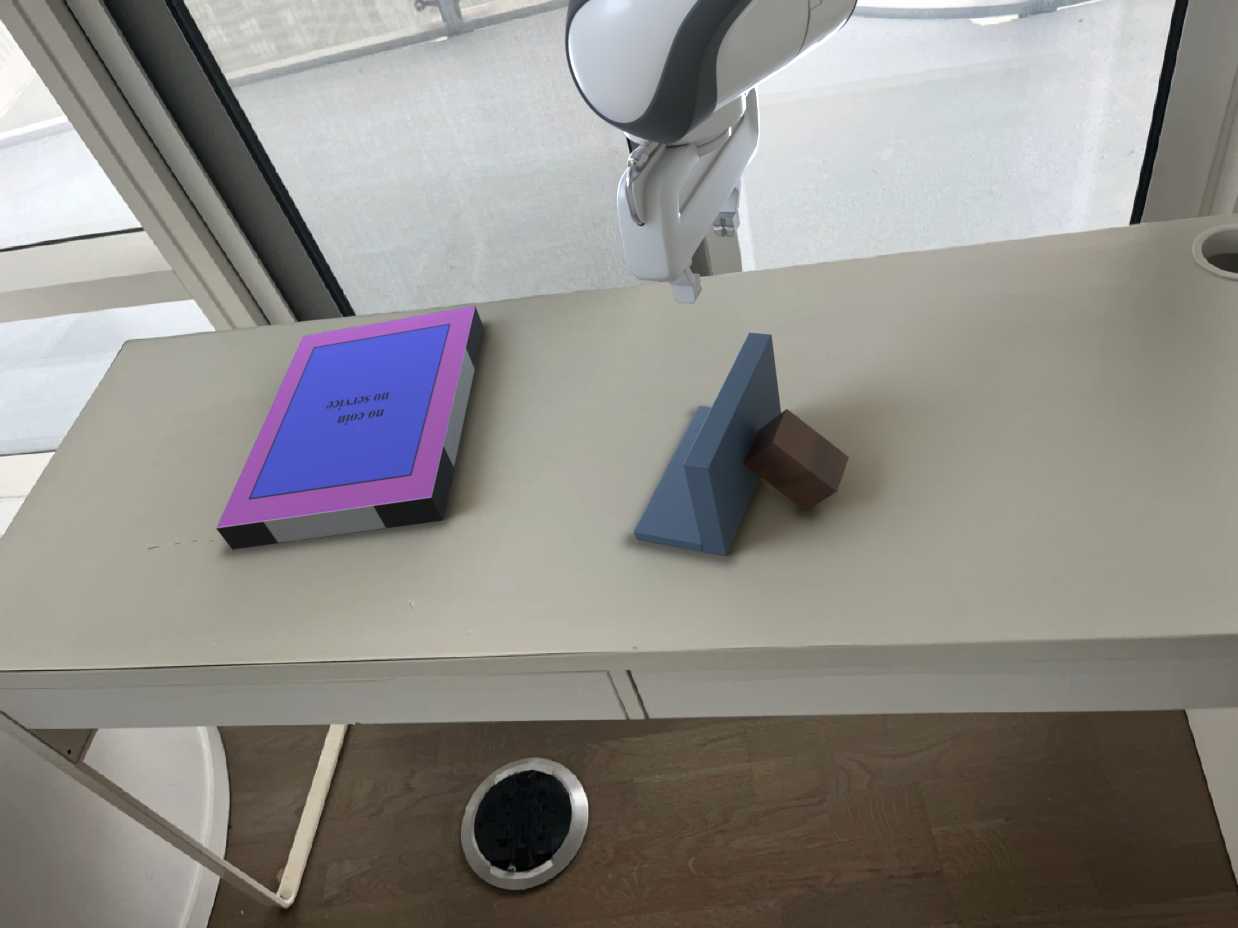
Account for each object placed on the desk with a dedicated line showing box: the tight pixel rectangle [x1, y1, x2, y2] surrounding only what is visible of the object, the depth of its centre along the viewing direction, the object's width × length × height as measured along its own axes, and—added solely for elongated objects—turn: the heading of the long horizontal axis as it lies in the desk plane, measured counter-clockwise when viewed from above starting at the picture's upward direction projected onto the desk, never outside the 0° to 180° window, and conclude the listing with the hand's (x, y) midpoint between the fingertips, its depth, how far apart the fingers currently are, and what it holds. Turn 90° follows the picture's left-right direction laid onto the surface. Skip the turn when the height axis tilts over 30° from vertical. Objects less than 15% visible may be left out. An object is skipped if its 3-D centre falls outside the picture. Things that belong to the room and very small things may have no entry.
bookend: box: [633, 332, 782, 557], centre depth 76 cm, size 8×16×10 cm, turn 157°
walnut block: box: [743, 408, 850, 512], centre depth 74 cm, size 7×4×7 cm, turn 67°
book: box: [215, 305, 484, 550], centre depth 94 cm, size 21×3×30 cm
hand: (709, 263), depth 73 cm, fingers open, 8 cm apart
